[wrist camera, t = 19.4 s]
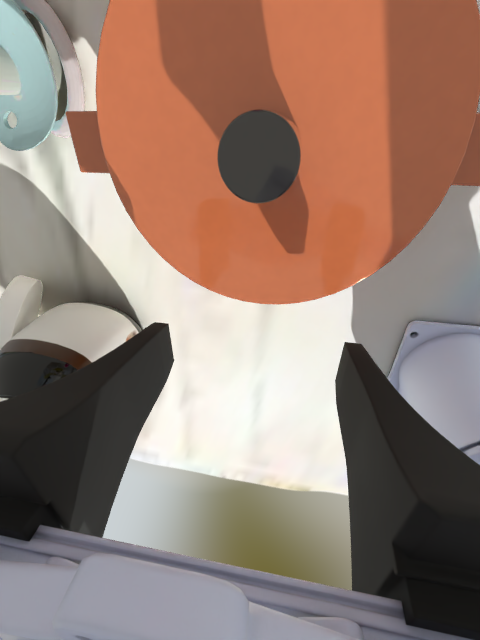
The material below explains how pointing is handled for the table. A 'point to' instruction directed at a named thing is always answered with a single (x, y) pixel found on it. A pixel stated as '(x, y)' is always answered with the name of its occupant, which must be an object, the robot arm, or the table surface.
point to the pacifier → (34, 75)
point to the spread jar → (52, 337)
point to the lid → (285, 133)
